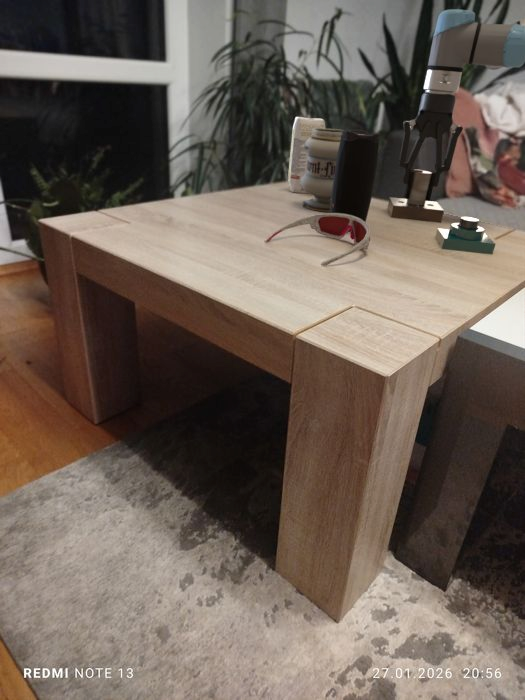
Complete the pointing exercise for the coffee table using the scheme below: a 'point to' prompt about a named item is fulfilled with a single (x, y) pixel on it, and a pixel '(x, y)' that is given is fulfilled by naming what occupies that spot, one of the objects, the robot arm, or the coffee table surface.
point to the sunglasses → (335, 230)
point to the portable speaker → (355, 173)
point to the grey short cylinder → (468, 223)
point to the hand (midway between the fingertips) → (416, 198)
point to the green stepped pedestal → (464, 239)
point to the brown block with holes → (415, 210)
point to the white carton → (300, 150)
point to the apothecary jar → (320, 167)
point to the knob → (419, 187)
